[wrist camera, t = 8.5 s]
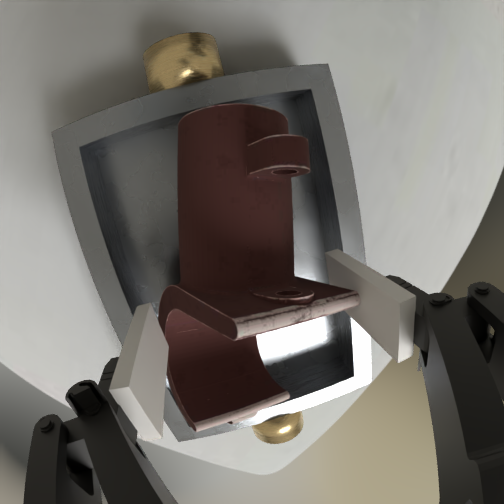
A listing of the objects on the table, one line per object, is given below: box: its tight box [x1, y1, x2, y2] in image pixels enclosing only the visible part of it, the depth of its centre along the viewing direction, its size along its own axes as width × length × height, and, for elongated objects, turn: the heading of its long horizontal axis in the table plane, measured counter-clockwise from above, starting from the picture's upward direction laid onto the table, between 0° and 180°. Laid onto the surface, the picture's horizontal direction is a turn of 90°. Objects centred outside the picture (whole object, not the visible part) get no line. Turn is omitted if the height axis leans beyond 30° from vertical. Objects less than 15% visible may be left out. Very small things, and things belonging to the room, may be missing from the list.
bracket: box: [158, 104, 361, 432], centre depth 15 cm, size 6×17×10 cm, turn 0°
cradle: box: [52, 32, 371, 444], centre depth 19 cm, size 29×16×4 cm, turn 13°
